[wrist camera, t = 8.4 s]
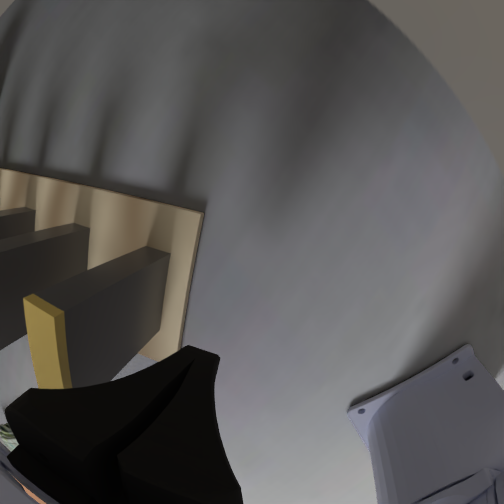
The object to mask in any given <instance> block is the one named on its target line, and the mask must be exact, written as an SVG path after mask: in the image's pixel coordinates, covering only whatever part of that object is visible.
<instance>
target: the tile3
mask: <svg viewBox="0 0 504 504" xmlns="http://www.w3.org/2000/svg"><path fill="white" fill-rule="evenodd" d="M35 215H36V210H33V209H30V208H27V207H19V208H13V209H7V210H1V211H0V240H2V239H6V238H9V237H13V236H17V235H22V234H26V233H30V232H34V231H35Z"/></svg>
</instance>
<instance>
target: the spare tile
mask: <svg viewBox="0 0 504 504" xmlns="http://www.w3.org/2000/svg"><path fill="white" fill-rule="evenodd" d="M170 255H171V253H168V252H164V251H161V250H158V249H155V248H152V247H148V246H144V247H142V248H139V249H137V250H135V251H132V252H130V253H127V254H125V255H122V256H120V257H117V258H115V259H113V260H110V261H108V262H105V263H103V264H101V265H98V266H96V267H94V268H91V269H89V270H87V271H84V272H82V273H80V274H77V275H75V276H73V277H71V278H68V279H66V280H64V281H62V282H59V283H57V284H55V285H53V286H50V287H48V288H46V289H44V290H42V291H39V292H37V293H35V294H31V295H29V296H27V297H25V298H23V302H24V312H25V320H26V327H27V334H28V340H29V346H30V351H31V356H32V361H33V366H34V370H35V375H36V379H37V383H38V387H39V389H67V388H78V387H86V386H92V385H97V384H101V383H106V382H110V381H111V380H112V379H113V378H114V377H115V376H116V375H117V374H118V373H119V372H120V371H121V370H122V368H123V367H124V366H125V365H126V364H127V363H128V362H129V361H130V360H131V359H132V358H133V357H134V356H135V355H136V354H137V353H138V352H139V351H140V350H141V349H142V348H143V347H144V346H145V345H146V344H147V343H148V342H149V341H150V340H151V339H152V338H153V337H154V336H155V335H156V334H157V333H158V332H159V331H160V325H161V316H162V309H163V301H164V294H165V287H166V280H167V274H168V268H169V261H170Z"/></svg>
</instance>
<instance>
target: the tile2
mask: <svg viewBox="0 0 504 504" xmlns="http://www.w3.org/2000/svg"><path fill="white" fill-rule="evenodd" d="M89 236H90V228H88V227H85V226H82V225H79V224H76V223H70V224H65V225H61V226H56V227H51V228H47V229H43V230H38V231H34V232H30V233H26V234H22V235H17V236H13V237H9V238H6V239H2V240H0V350H2V349H3V348H5V347H6V346H8V345H10V344H11V343H13V342H14V341H16V340H18V339H19V338H21V337H23V336H24V335H26V334H27V327H26V320H25V312H24V302H23V298H25V297H27V296H29V295H31V294H35V293H37V292H39V291H42V290H44V289H46V288H48V287H50V286H53V285H55V284H57V283H59V282H62V281H64V280H66V279H68V278H71V277H73V276H75V275H77V274H80V273H82V272H84V271H87V266H88V249H89Z"/></svg>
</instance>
